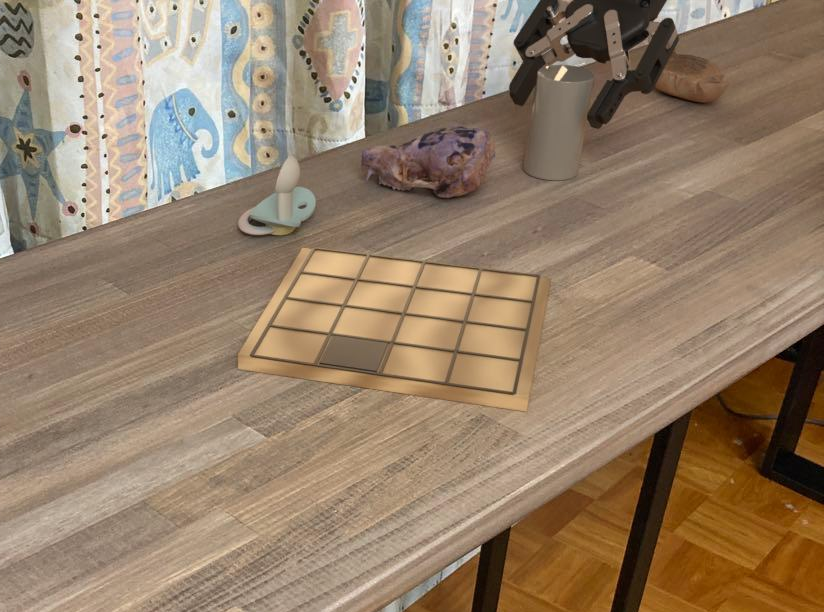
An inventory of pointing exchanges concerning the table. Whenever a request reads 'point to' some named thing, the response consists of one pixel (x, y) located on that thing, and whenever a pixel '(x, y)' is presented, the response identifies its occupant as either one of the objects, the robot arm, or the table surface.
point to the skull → (434, 161)
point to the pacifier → (281, 205)
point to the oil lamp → (691, 78)
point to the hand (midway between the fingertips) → (553, 112)
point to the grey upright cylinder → (558, 121)
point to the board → (403, 327)
